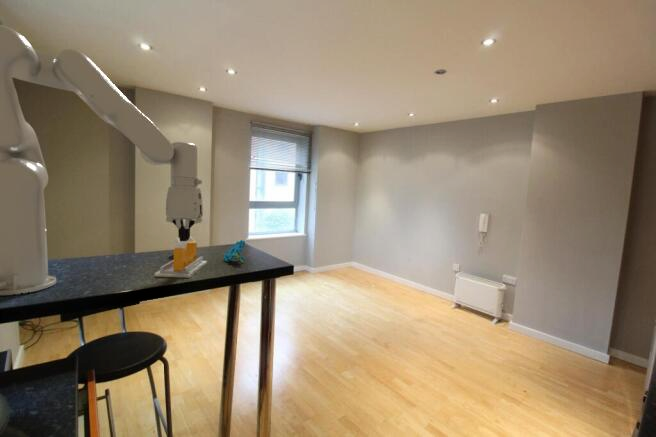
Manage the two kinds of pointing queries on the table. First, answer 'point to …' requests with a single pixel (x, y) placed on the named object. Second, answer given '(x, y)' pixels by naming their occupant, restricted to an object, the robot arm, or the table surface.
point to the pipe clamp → (185, 256)
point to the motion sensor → (182, 242)
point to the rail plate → (188, 271)
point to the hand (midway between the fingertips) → (184, 240)
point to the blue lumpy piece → (235, 252)
